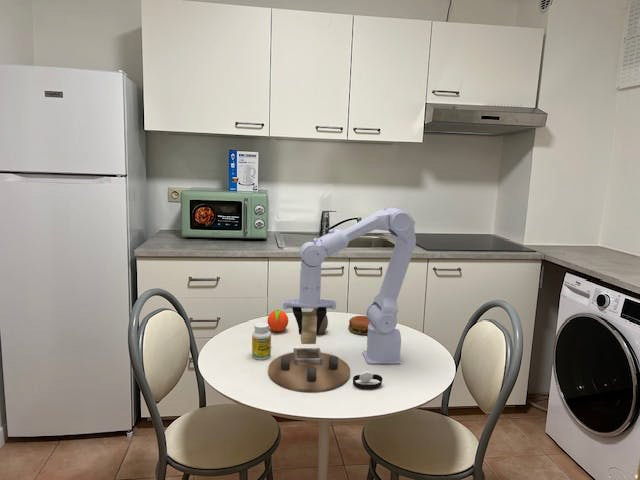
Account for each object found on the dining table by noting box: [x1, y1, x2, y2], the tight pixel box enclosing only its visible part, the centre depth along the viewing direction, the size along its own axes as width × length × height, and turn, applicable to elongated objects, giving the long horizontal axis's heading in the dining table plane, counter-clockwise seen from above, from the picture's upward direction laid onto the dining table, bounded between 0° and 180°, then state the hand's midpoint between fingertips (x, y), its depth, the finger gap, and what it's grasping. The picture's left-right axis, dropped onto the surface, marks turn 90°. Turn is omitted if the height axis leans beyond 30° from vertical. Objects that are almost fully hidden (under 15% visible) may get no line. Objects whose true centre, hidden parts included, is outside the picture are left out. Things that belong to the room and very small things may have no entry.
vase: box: [310, 308, 329, 336], centre depth 153 cm, size 7×7×9 cm
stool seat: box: [267, 347, 351, 393], centre depth 126 cm, size 22×22×4 cm
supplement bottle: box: [251, 321, 272, 361], centre depth 133 cm, size 5×5×10 cm
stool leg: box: [300, 311, 317, 345], centre depth 130 cm, size 4×4×8 cm
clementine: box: [266, 309, 289, 332], centre depth 153 cm, size 8×7×7 cm
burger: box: [348, 315, 370, 336], centre depth 157 cm, size 10×9×5 cm
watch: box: [352, 370, 383, 390], centre depth 119 cm, size 8×5×4 cm, turn 99°
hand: (308, 333), depth 130 cm, fingers closed on stool leg, 4 cm apart
